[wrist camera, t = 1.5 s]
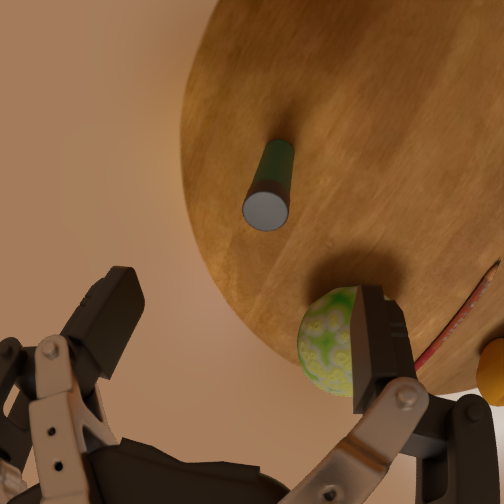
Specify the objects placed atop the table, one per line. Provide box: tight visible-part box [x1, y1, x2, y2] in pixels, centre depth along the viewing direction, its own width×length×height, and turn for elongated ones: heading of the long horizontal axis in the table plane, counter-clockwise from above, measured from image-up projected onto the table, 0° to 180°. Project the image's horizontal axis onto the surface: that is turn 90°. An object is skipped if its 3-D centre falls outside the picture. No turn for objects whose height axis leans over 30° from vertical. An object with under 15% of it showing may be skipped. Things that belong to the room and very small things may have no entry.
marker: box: [242, 139, 294, 231], centre depth 19 cm, size 2×2×9 cm
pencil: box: [414, 260, 501, 371], centre depth 30 cm, size 19×1×1 cm, turn 169°
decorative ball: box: [297, 286, 390, 397], centre depth 26 cm, size 10×10×10 cm
